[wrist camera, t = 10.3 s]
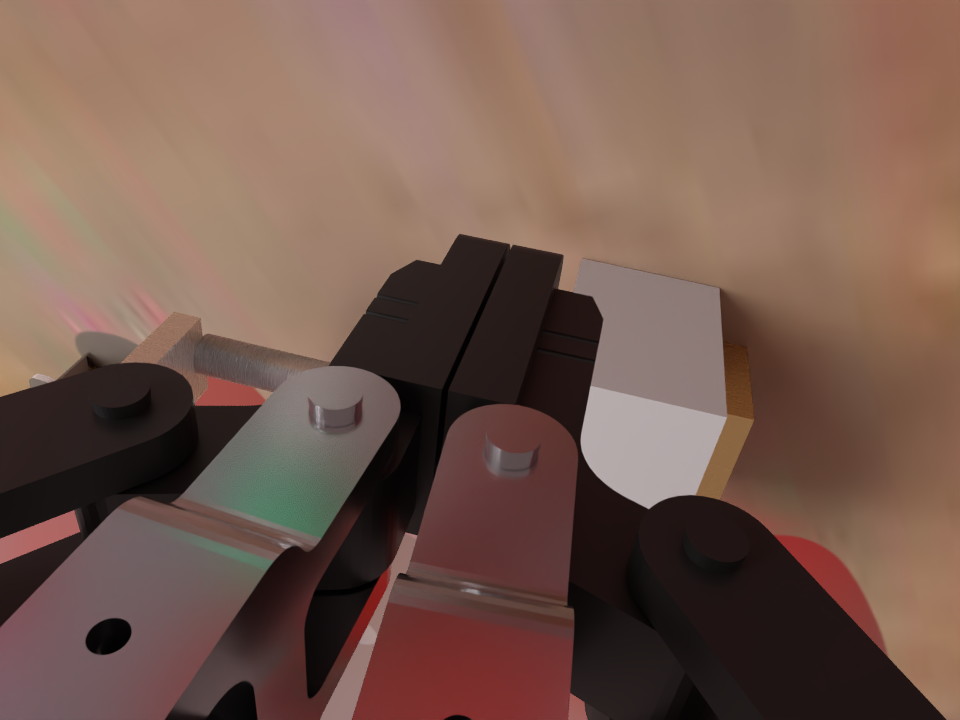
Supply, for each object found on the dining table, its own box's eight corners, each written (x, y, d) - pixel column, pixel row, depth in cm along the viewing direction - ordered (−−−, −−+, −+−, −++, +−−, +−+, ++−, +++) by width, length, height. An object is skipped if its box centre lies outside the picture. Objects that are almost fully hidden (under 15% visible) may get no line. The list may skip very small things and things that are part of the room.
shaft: (634, 406, 42) (623, 514, 36) (613, 472, 45) (600, 583, 39) (185, 301, 45) (98, 384, 38) (193, 370, 48) (114, 458, 41)
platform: (169, 323, 56) (115, 376, 51) (179, 494, 67) (136, 552, 61) (15, 278, 57) (-54, 325, 52) (50, 454, 68) (-4, 508, 62)
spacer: (746, 347, 47) (754, 420, 41) (711, 434, 51) (714, 511, 45) (704, 337, 47) (706, 409, 41) (673, 425, 51) (671, 501, 45)
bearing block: (719, 287, 45) (727, 417, 35) (656, 464, 53) (649, 608, 43) (581, 258, 46) (552, 376, 36) (541, 436, 54) (508, 571, 44)
